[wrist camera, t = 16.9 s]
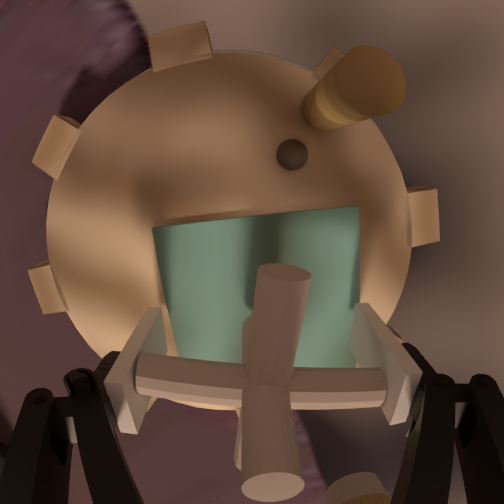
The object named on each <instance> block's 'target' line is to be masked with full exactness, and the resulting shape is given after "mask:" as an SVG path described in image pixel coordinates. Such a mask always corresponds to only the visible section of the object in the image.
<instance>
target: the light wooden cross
mask: <svg viewBox="0 0 504 504" xmlns="http://www.w3.org/2000/svg"><path fill="white" fill-rule="evenodd" d="M310 278H311V273H309V272H308V271H307V270H305V269H303V268H300V267H297V266H294V265H288V264H283V263H268V264H264V265H260V267H259V268H258V270H257V278H256V286H255V295H254V303H253V311H252V315H251V316H249V317H248V318H247V319H245V321H244V323H243V326H242V364H240V363H229V362H218V361H209V360H200V359H191V358H183V357H175V356H168V355H161V354H154V353H148V352H143V353H142V354H141V355H140V357H139V360H138V363H137V369H136V390H137V393H138V394H142V395H148V396H154V397H160V398H166V399H173V400H180V401H187V402H195V403H204V404H214V405H224V406H236V407H240V415H239V423H238V431H237V438H236V446H235V454H234V462H235V465H236V467H237V468H238V469H240V470H241V488H242V492H243V494H244V495H245V496H247V497H248V498H251V499H253V500H257V501H263V502H275V501H282V500H286V499H289V498H291V497H293V496H295V495H297V494H298V493H300V492H301V491H302V490H303V488H304V484H305V483H304V477H303V472H302V466H301V460H300V454H299V449H298V443H297V437H296V432H295V426H294V420H293V415H292V409H349V408H367V407H378V406H381V404H382V403H383V402H384V400H385V396H386V392H387V379H386V376H385V373H384V371H383V370H382V369H381V368H380V367H375V368H315V367H293V366H294V361H295V357H296V352H297V347H298V342H299V337H300V332H301V327H302V322H303V317H304V311H305V306H306V301H307V295H308V290H309V284H310Z"/></svg>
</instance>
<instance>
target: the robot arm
mask: <svg viewBox="0 0 504 504" xmlns="http://www.w3.org/2000/svg"><path fill="white" fill-rule="evenodd" d="M349 347H350V349H351V350H352V352H353V354H354V356H355V358H356V360H357V362H358V364H359V366H360V368H375V367H380V368H381V369H382V370H383V371H384V373H385V376H386V379H387V392H386V396H385V400H384V402H383V403H382V404H381V406H380V407H381V409H382V411H383V413H384V415H385V417H386V419H387V421H388V423H389V425H394V424H399V423H403V422H406V419H407V416H408V414H409V412H410V414H411V416H412V418H413V419H412V422H411V424H410V427H409V429H408V432H407V434H406V437H408V439H407V443H406V448H405V452H404V456H403V460H402V464H401V468H400V472H399V476H398V479H397V483H396V486H395V490H394V493H393V496H392V500H391V503H390V504H447V503H448V497H449V490H450V483H451V474H452V465H453V453H454V440H455V444H456V447H457V452H458V457H459V461H460V466H461V471H462V476H463V481H464V486H465V492H466V497H467V504H504V397H503V395H502V393H501V391H500V389H499V387H498V385H497V383H496V381H495V380H494V379H493V378H492V377H490V376H489V375H486V374H476V375H474V376H472V378H471V380H470V382H469V384H456V383H455V382H454V380H453V379H452V378H451V377H449V376H447V375H445V374H437V373H436V372H435V371H434V369H433V368H432V367H431V365H430V364H429V363H428V362H427V360H425V358H424V357H423V356H422V355H421V353H420V352H419V351H418V350H417V348H416V347H414V346H413V345H411V344H409V343H400V342H399V341H398V339H397V338H396V337H395V335H394V334H393V333H392V332H391V330H390V329H389V328H388V327H387V325H386V324H385V323H384V322H383V320H382V319H381V318H380V317H379V315H378V314H377V313H376V312H375V310H374V309H373V308H372V307H371V306H370V304H369V303H355V310H354V318H353V325H352V333H351V339H350V346H349ZM167 351H168V349H167V343H166V336H165V329H164V322H163V315H162V307H148V308H147V310H146V311H145V313H144V314H143V316H142V318H141V319H140V321H139V323H138V324H137V326H136V327H135V329H134V331H133V332H132V334H131V336H130V337H129V339H128V341H127V342H126V344H125V346H124V347H123V349H122V351H111V352H109V353H108V354H107V355H105V356H104V357H103V359H102V360H101V362H100V364H99V365H98V367H97V369H96V370H95V371H94V372H93V371H91V370H90V369H86V368H79V369H75V370H72V371H70V372H68V373H67V374H66V375H65V377H64V380H63V381H64V384H65V387H66V389H67V392H68V395H69V396H68V397H54V396H53V394H52V392H51V391H50V390H48V389H46V388H37V389H34V390H32V391H30V392H29V393H28V394H27V395H26V397H25V399H24V402H23V405H22V408H21V411H20V414H19V416H18V419H17V423H16V426H15V429H14V432H13V435H12V438H11V442H10V445H9V448H7V447H6V446H4V445H1V444H0V504H68V495H69V479H70V467H71V457H72V448H73V443H78V447H79V451H80V456H81V460H82V464H83V468H84V472H85V476H86V480H87V483H88V487H89V491H90V494H91V497H92V501H93V504H144V502H143V500H142V498H141V496H140V493H139V491H138V489H137V487H136V484H135V482H134V480H133V477H132V475H131V472H130V470H129V467H128V465H127V462H126V460H125V457H124V455H123V452H122V449H121V447H120V444H119V441H118V438H117V436H116V433H115V431H114V430H115V427H116V425H117V423H118V426H119V429H120V431H121V432H124V433H131V434H138V432H139V430H140V427H141V424H142V421H143V418H144V415H145V412H146V409H147V406H148V404H149V401H150V398H151V396H148V395H142V394H138V393H137V390H136V369H137V363H138V360H139V357H140V355H141V354H142V353H143V352H148V353H154V354H161V355H166V354H167Z"/></svg>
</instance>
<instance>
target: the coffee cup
mask: <svg viewBox="0 0 504 504" xmlns="http://www.w3.org/2000/svg"><path fill="white" fill-rule="evenodd" d="M326 493H327V504H390V503H391V499H390V497H389V495H387V494H386V492H385V490H384V488H383V486H382V485H381V483H380V481H379V479H378V477H377V475H376V474H374V473H372V472H358V473H354V474H350V475H347V476H345V477H342V478H340V479H338V480H337V481H335V482H333V483H332V484H331V485H330V486H329V487H328V489H327V492H326Z"/></svg>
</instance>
